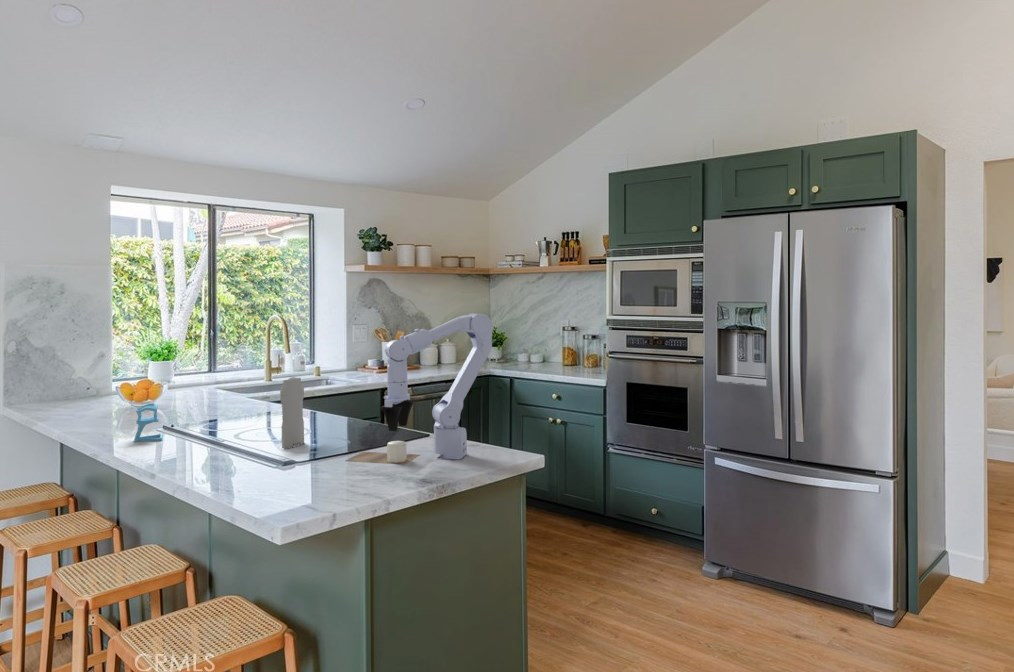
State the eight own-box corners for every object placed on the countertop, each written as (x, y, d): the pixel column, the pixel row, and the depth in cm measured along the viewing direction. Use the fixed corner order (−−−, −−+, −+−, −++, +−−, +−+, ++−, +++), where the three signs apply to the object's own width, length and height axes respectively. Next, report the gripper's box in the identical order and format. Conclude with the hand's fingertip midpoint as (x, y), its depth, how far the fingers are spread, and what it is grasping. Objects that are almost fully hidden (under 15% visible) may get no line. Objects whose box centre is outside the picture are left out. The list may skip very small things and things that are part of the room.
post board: (420, 459, 206) (420, 441, 205) (405, 469, 194) (404, 449, 194) (362, 456, 210) (362, 438, 209) (344, 466, 198) (344, 446, 198)
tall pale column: (287, 449, 219) (285, 379, 218) (276, 448, 221) (275, 378, 219) (309, 443, 229) (308, 375, 228) (299, 442, 230) (298, 375, 229)
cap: (408, 458, 201) (408, 441, 200) (401, 462, 196) (401, 445, 195) (392, 457, 202) (391, 440, 201) (385, 461, 197) (384, 444, 197)
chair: (135, 438, 236) (133, 403, 236) (162, 436, 240) (161, 401, 239) (133, 443, 229) (132, 406, 229) (162, 440, 233) (160, 404, 232)
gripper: (394, 378, 212) (394, 423, 212) (374, 384, 198) (374, 432, 198) (416, 378, 210) (416, 424, 211) (398, 385, 196) (398, 433, 197)
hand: (398, 428), depth 205 cm, fingers open, 7 cm apart
